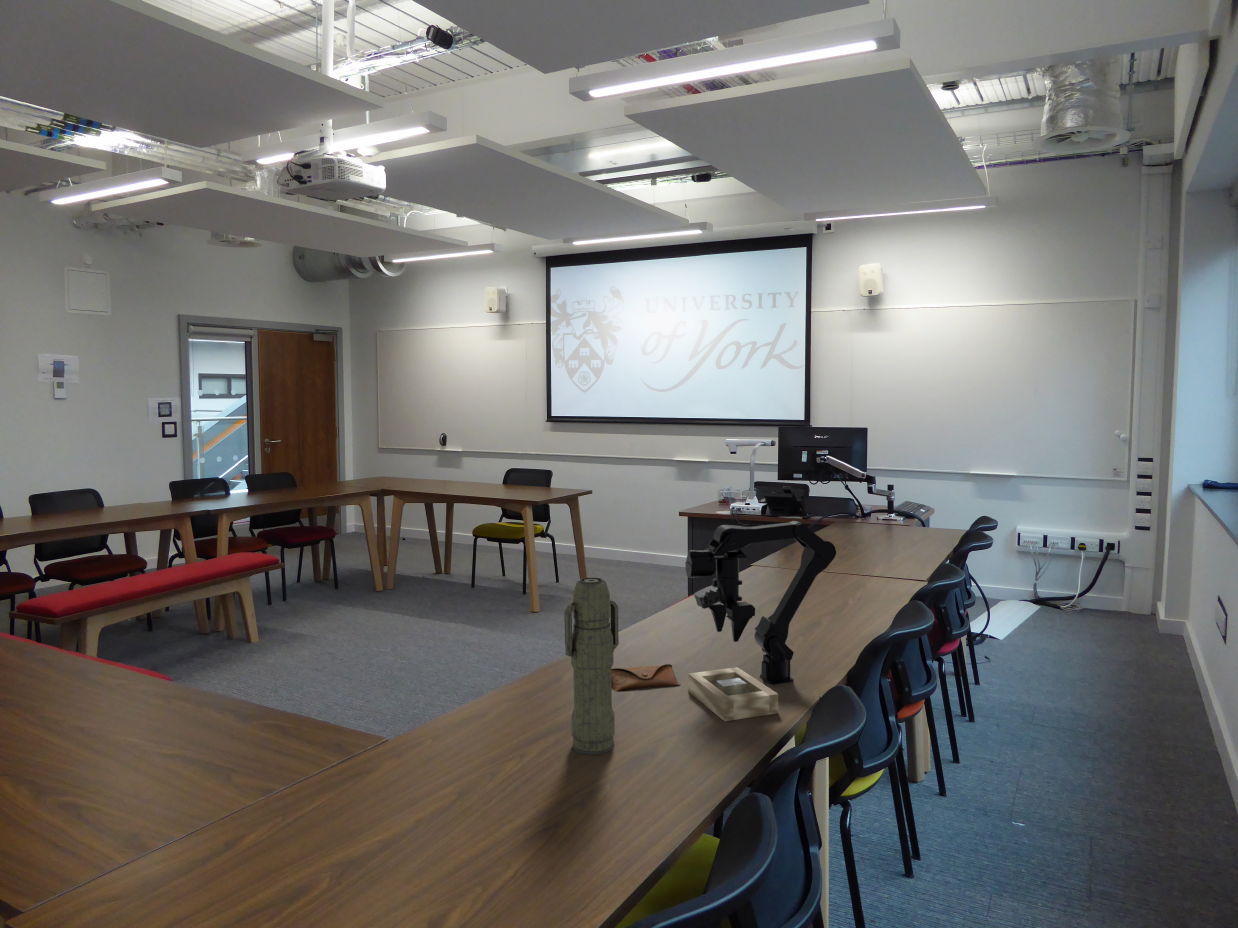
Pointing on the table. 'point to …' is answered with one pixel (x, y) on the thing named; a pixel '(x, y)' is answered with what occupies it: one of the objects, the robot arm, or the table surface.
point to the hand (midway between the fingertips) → (727, 636)
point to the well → (733, 706)
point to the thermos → (592, 664)
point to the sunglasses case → (642, 677)
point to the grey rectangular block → (732, 686)
